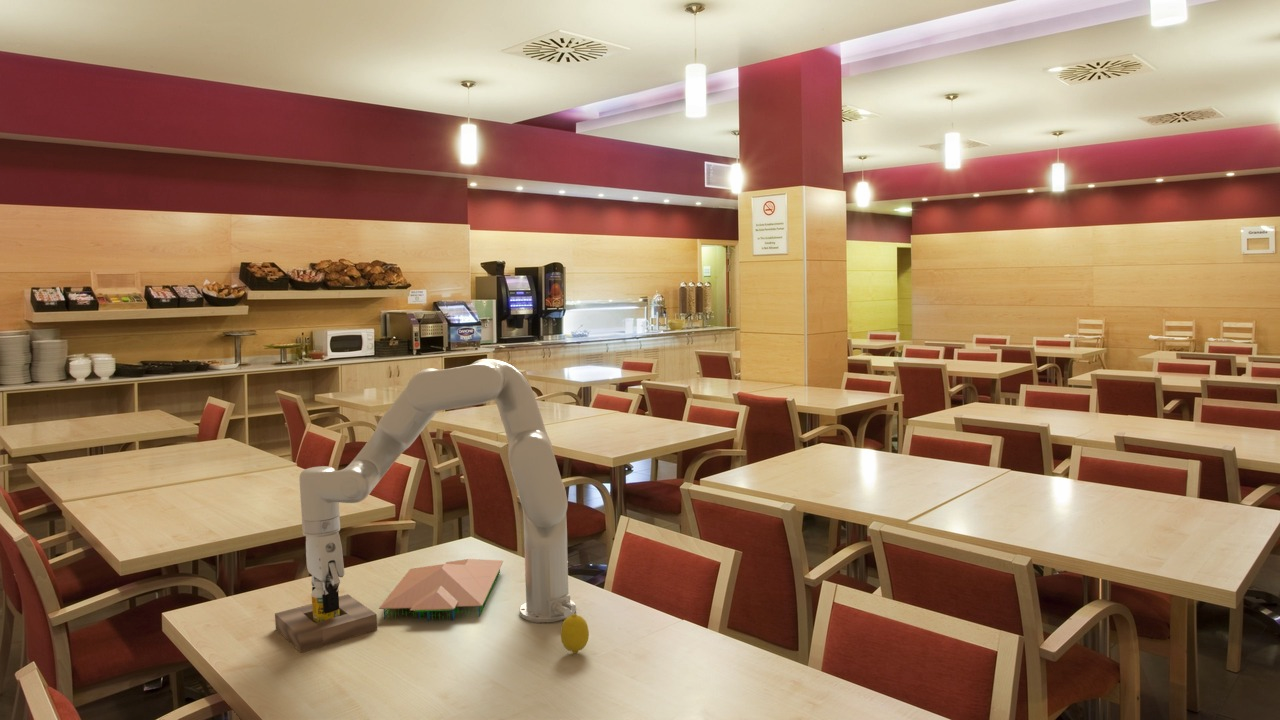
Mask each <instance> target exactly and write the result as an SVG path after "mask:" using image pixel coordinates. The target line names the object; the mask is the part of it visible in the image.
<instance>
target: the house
mask: <svg viewBox="0 0 1280 720" xmlns="http://www.w3.org/2000/svg"><path fill="white" fill-rule="evenodd" d="M503 563H504V560H497V559H479V558H478V559H477V558H466V559H459V560H453V561H446V562H445V563H442V564H435V565H428V566H422V567H415V568H414V567H413V568H410V569H409V570H408V571H407V572H406V573H405V575H404V576H403V577H402V578H401V580H400V581H399V582H398V583H397V585H396V586H395V587H394V588H393V590H392V591H391V592H390V593H389V595H388V596H387V597H386V598H385V600H384V601H383V602H382V603H381V605H379V607H378V610H383V619H384V620H386V617H387V618H388V620H389V617H390V616H387V615H389V614H390V615H393V609H394V616H395V620H396V619H397V615H396V614H398V612H396V609H402V611H401V614H404V611H403V610H404V609H409V612H411V611H413V612H412V614H413V616H415V614H417V615H418V616H417V617H418V619H422V617H423V616H424V615H425V613H427V621H428V622H430V619H431V621H433V619H434V618H433V616H435V614H432V613H431V612H439V613H438V617H439V618H438V619H439V620H441V614H440V612H444V611H445V612H449V613H448V616H449V620H451V621H454V619H455V618H456V615H458V616H457V617H458V618H459V617H460V616H459V612H461V613H463V610H461V611H460V610H459V608H464V609H465V610H464V612H465V613H464V615H465V617H467V612H468V613H469V610H466V607H468V608H469V607H472V610H471V611H474V608H473V607H478V610H475V614H476V616H475V617H477V616H478V617H479V618H480V617H481V614H482V612H483V609H484V608H485V605H486V604H487V602H488V599H489V597H490V595H491V593H492V590H493V589H494V586H495V584H496V582H497V580H498V577H499V576H500V574H501V567H502V565H503ZM499 573H500V574H499ZM498 575H499V576H498ZM495 581H496V582H495ZM389 612H390V613H389ZM450 612H451V613H450ZM477 612H478V614H477ZM407 614H408V612H405V616H406V617H405V618H407V617H408V615H407ZM421 616H422V617H421ZM450 616H451V617H450ZM451 618H452V619H451ZM407 619H408V618H407ZM442 621H444V617H442Z"/></svg>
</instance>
